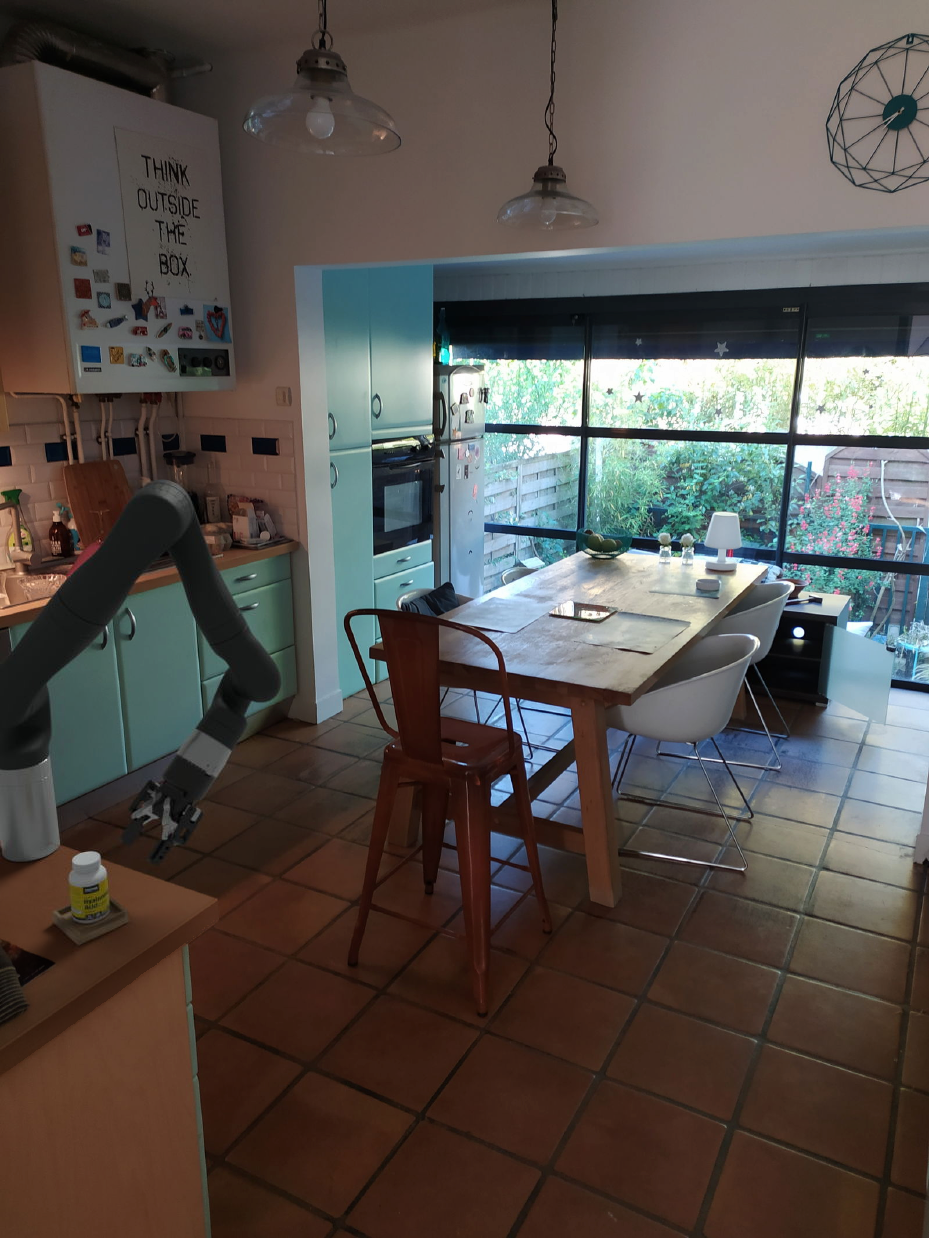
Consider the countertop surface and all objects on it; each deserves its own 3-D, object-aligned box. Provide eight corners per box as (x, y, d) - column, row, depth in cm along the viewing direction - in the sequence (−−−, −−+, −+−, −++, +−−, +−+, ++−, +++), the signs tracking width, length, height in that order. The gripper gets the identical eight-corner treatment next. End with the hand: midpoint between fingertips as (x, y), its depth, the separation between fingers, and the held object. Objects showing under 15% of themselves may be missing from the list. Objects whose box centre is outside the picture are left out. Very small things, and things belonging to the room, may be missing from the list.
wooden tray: (53, 922, 140) (52, 911, 139) (103, 901, 146) (102, 890, 145) (78, 945, 135) (76, 933, 134) (128, 921, 141) (127, 910, 140)
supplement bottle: (85, 929, 137) (79, 871, 134) (65, 916, 140) (58, 859, 137) (117, 912, 141) (112, 856, 138) (97, 900, 144) (91, 844, 141)
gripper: (158, 741, 151) (98, 828, 146) (206, 767, 141) (144, 861, 137) (189, 760, 156) (132, 845, 151) (237, 787, 147) (178, 878, 142)
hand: (138, 853), depth 144 cm, fingers open, 8 cm apart
